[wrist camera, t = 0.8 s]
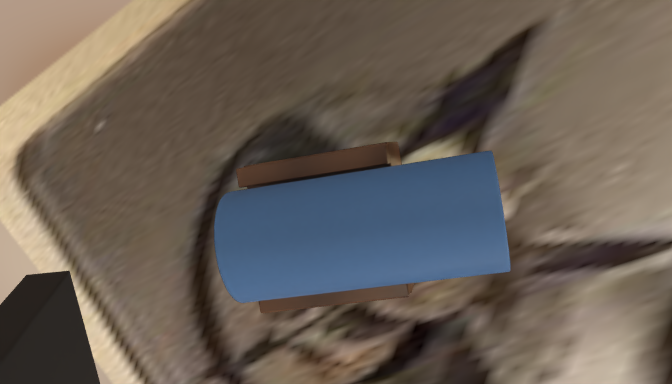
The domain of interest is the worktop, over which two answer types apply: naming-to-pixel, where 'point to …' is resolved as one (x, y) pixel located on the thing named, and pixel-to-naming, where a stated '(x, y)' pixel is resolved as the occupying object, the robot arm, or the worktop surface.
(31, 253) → the worktop surface
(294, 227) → the tube
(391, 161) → the cradle
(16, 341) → the robot arm
